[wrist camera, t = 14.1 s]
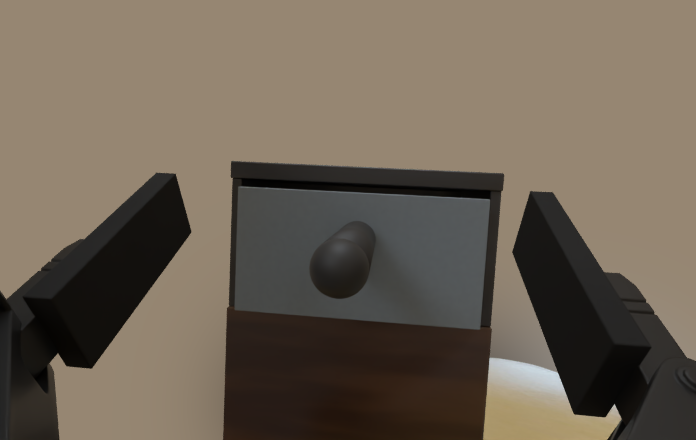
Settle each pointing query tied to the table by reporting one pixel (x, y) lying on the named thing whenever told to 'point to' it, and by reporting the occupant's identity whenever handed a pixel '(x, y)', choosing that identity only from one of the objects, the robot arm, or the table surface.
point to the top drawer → (362, 256)
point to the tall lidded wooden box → (357, 339)
